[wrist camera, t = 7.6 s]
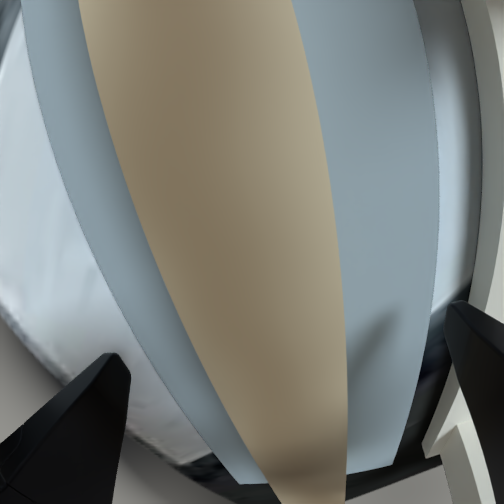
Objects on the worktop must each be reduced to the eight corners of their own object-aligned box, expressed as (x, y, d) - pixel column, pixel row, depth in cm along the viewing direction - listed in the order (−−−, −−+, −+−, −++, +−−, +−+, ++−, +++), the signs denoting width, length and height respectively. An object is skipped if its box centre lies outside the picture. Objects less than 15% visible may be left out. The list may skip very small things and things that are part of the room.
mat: (326, -160, 2) (328, -169, 2) (390, 457, 16) (392, 464, 16) (28, -71, 4) (19, -75, 3) (239, 476, 18) (239, 483, 17)
